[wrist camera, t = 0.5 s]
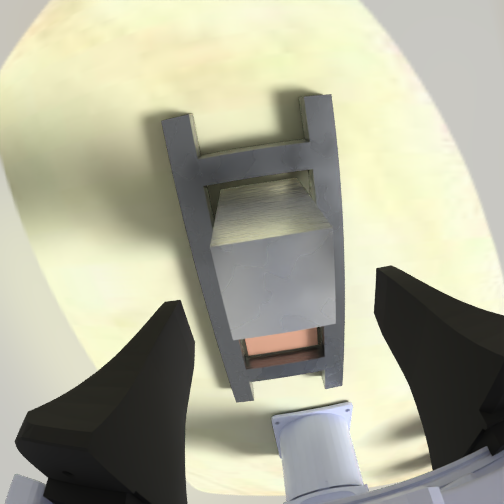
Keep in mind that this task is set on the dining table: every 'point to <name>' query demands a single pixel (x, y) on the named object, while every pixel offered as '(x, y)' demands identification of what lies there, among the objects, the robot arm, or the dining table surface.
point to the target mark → (282, 341)
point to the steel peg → (273, 259)
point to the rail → (202, 223)
